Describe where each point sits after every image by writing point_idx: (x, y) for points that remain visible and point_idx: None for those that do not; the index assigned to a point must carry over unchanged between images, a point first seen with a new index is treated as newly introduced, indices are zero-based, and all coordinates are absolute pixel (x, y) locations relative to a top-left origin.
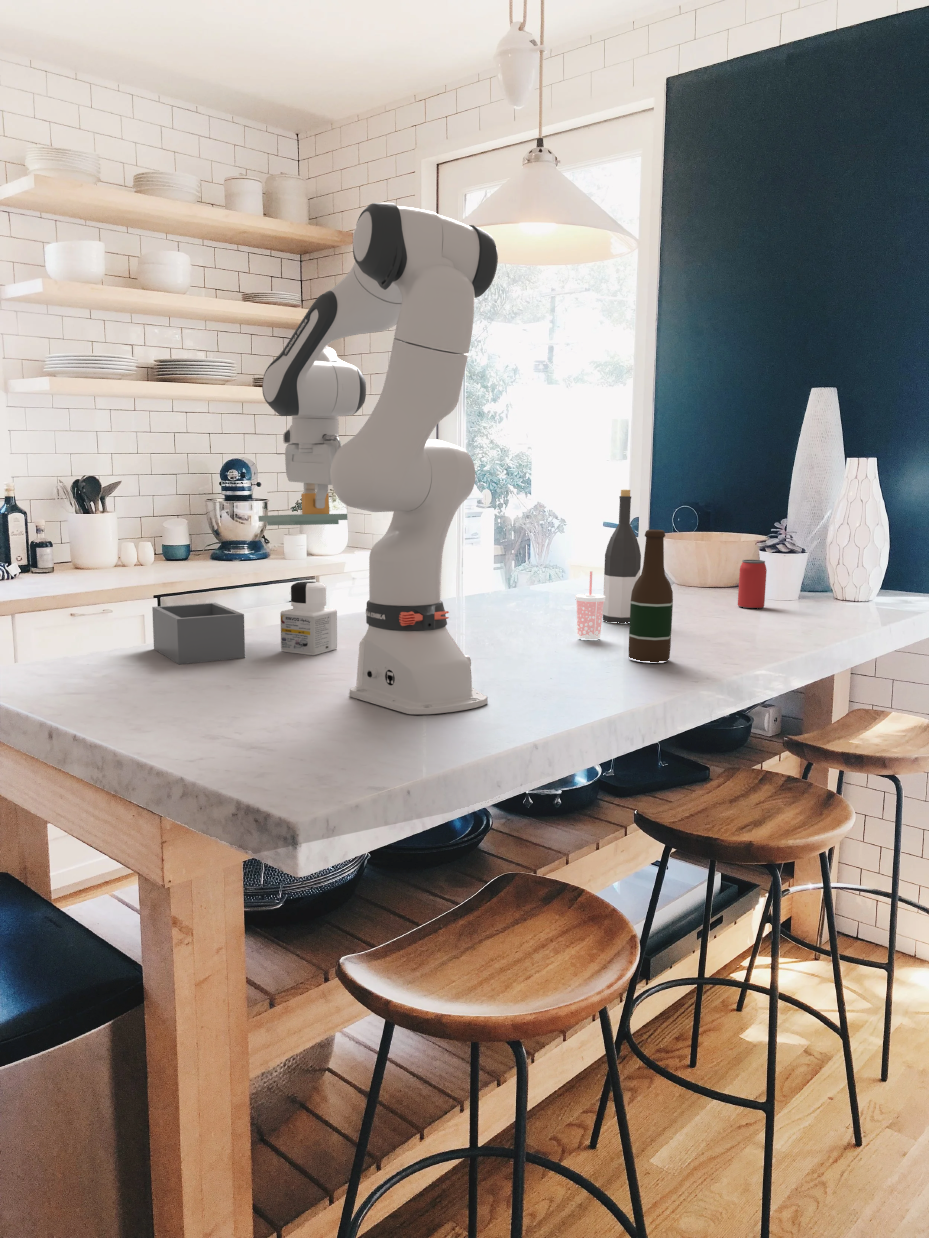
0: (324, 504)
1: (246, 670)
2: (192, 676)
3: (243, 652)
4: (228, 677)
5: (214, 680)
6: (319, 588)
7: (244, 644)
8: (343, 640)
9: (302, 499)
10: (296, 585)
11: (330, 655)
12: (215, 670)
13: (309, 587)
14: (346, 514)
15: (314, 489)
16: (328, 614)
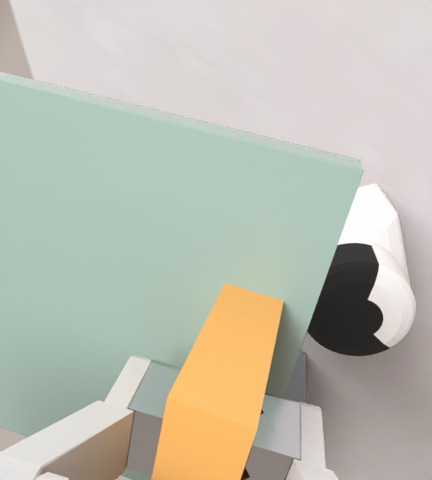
0: (320, 425)
1: (393, 407)
2: (362, 467)
3: (305, 361)
4: (412, 447)
5: (412, 467)
6: (415, 314)
7: (305, 370)
8: (301, 97)
9: None
10: (353, 354)
11: (417, 237)
12: (353, 430)
13: (398, 341)
14: (359, 176)
15: (46, 468)
16: (404, 250)
